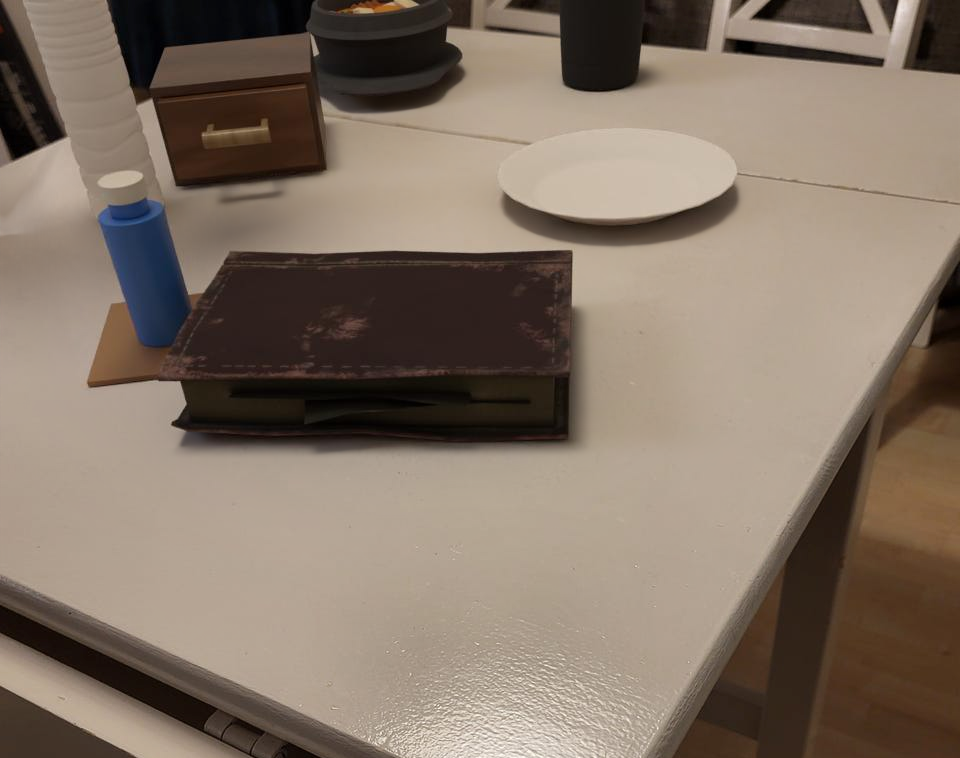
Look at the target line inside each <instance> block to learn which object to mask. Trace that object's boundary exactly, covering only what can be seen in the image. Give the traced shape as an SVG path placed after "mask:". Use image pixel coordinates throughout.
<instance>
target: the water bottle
mask: <svg viewBox="0 0 960 758" xmlns="http://www.w3.org/2000/svg"><path fill="white" fill-rule="evenodd" d="M22 4H23V7H24V9H25V10H26V16H27V19H28V21H29V22H30V23H29V24H30V27H31V31H32V32H33V33H34V34H33V36H34V40H35V42H36V43H37V49H38V52H39V54H40V55H41V61H42V64H43V65H44V66H45V73H46V76H47V79H48V82H49V86H50V89H51V92H52V93H53V95H54V96H55V98H56V99H55V101H56V107H57V109H58V112H59V115H60V117H61V120H62V121H63V123H64V131H65V133H66V136H67V137H68V139H69V140H70V148H71V151H72V154H73V157H74V159H75V162H76V164H77V166H78V168H79V169H78V170H79V174H80V178H81V181H82V183H83V186H84V188H85V189H86V195H87V199H88V202H89V205H90V208H91V211H92V213H93V215H94V218H95V219H96V220H97V221H98V216H99V214H100V213H101V212H102V211H103V210H104V209H106V208H108V204H106V203H104V201H103V199H102V196H101V193H100V190H99V187H98V181H99V179H101V178H102V177H104V176H106V175H108V174H111V173H115V172H120V171H137V172H140V173H142V174H143V176H144V180H145V183H146V187H147V190H148V195H147V200H154V201H157V202H159V203H161V204H162V205H163V208H165V199H164V195H163V192H162V188H161V186H160V182H159V180H158V177H157V173H156V168H155V164H154V161H153V158H152V156H151V154H150V148H149V143H148V140H147V137H146V135H145V133H144V131H143V130H144V127H143V123H142V119H141V116H140V114H139V112H138V111H137V109H138V107H137V102H136V101H137V100H136V98H135V94H134V92H133V88H132V87H131V86H130V84H131V83H130V76H129V73H128V70H127V66H126V64H125V60H124V57H123V55H122V50H121V47H120V44H119V43H118V42H119V40H118V36H117V33H116V32H115V30H116V28H115V25H114V23H113V21H112V14H111V12H110V10H109V4H108V1H107V0H22Z"/></svg>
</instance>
